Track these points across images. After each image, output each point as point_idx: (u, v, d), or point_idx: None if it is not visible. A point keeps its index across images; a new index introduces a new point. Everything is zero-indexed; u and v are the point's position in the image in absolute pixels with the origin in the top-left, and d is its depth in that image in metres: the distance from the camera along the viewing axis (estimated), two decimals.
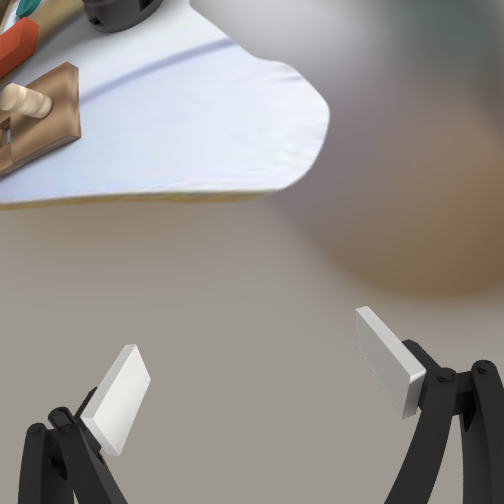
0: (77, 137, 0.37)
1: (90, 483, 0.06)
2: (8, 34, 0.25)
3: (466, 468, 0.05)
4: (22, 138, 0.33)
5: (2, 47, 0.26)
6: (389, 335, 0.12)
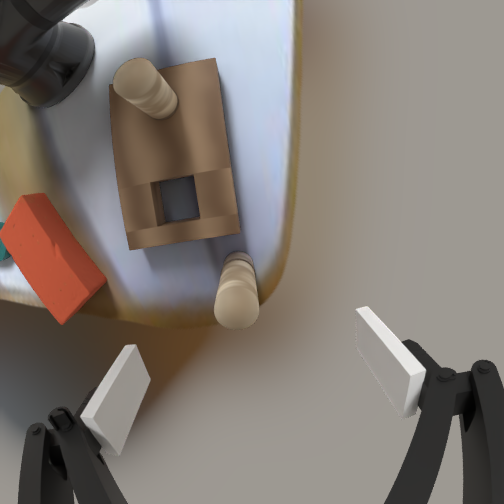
0: (217, 68, 0.31)
1: (90, 483, 0.06)
2: (16, 249, 0.31)
3: (466, 468, 0.05)
4: (196, 143, 0.31)
5: (28, 242, 0.31)
6: (389, 335, 0.12)
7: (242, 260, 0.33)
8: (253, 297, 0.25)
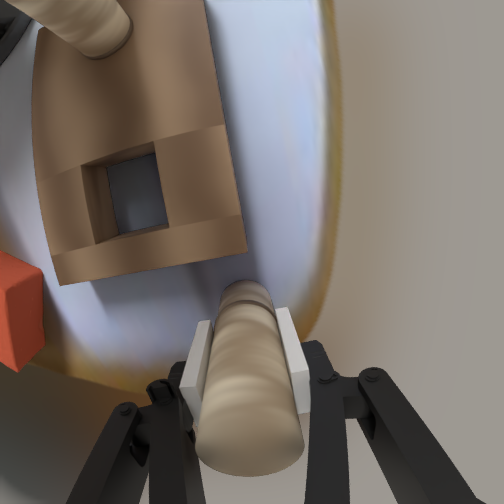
0: None
1: (170, 466, 0.07)
2: None
3: (386, 472, 0.07)
4: (159, 86, 0.14)
5: None
6: (292, 334, 0.14)
7: (254, 304, 0.17)
8: (291, 429, 0.08)
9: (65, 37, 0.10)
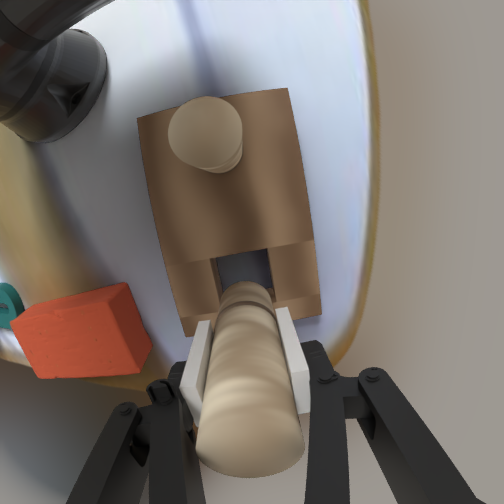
0: None
1: (170, 466, 0.07)
2: (51, 365, 0.27)
3: (386, 472, 0.07)
4: (270, 209, 0.25)
5: (45, 344, 0.26)
6: (292, 334, 0.14)
7: (254, 305, 0.17)
8: (292, 431, 0.08)
9: (205, 170, 0.20)
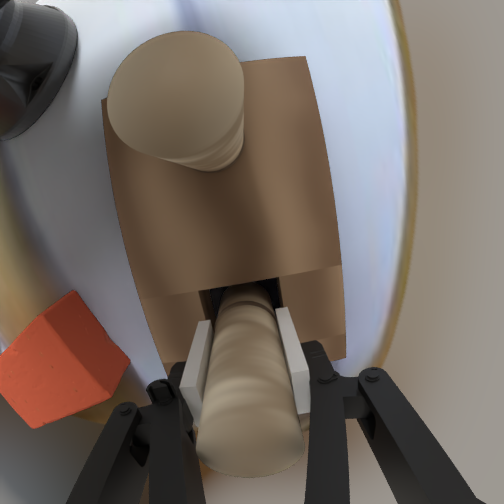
0: None
1: (170, 466, 0.07)
2: (33, 410, 0.20)
3: (386, 472, 0.07)
4: (283, 222, 0.18)
5: (18, 387, 0.19)
6: (292, 334, 0.14)
7: (254, 305, 0.17)
8: (292, 430, 0.08)
9: (186, 166, 0.13)
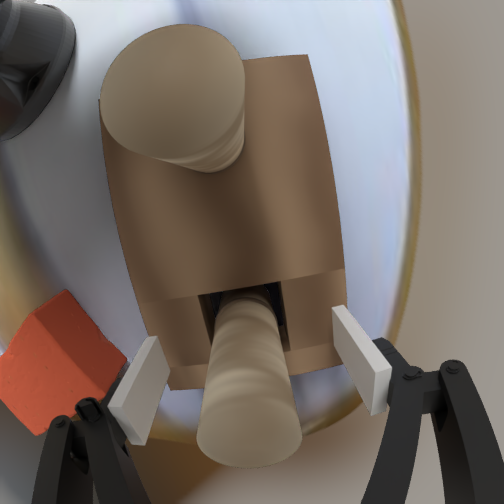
0: None
1: (112, 476, 0.06)
2: (34, 416, 0.19)
3: (444, 467, 0.06)
4: (284, 225, 0.17)
5: (17, 393, 0.18)
6: (360, 333, 0.13)
7: (253, 301, 0.18)
8: (289, 420, 0.09)
9: (185, 167, 0.12)
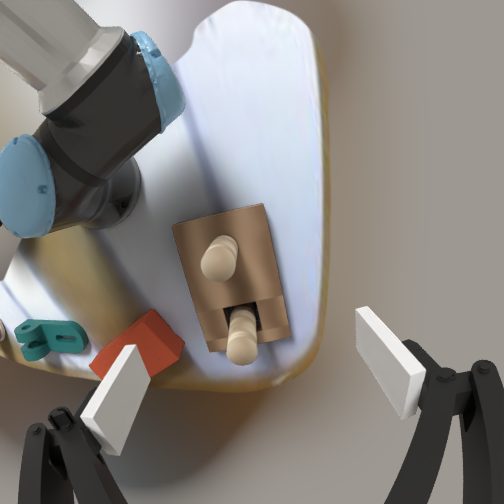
0: None
1: (90, 483, 0.06)
2: None
3: (466, 468, 0.05)
4: (256, 279, 0.43)
5: None
6: (389, 335, 0.12)
7: (245, 309, 0.44)
8: (252, 344, 0.35)
9: None
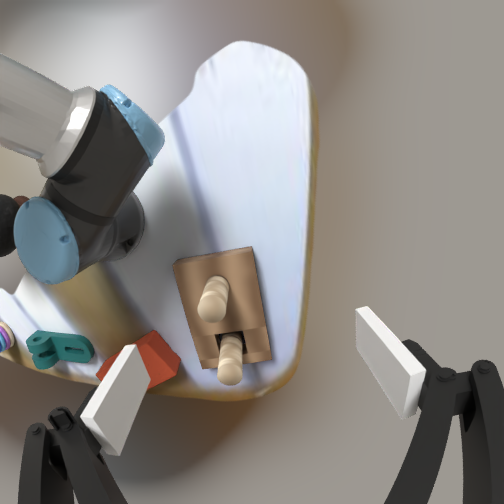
0: None
1: (90, 483, 0.06)
2: None
3: (466, 468, 0.05)
4: (243, 313, 0.50)
5: None
6: (389, 335, 0.12)
7: (233, 336, 0.51)
8: (238, 369, 0.42)
9: None
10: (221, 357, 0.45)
